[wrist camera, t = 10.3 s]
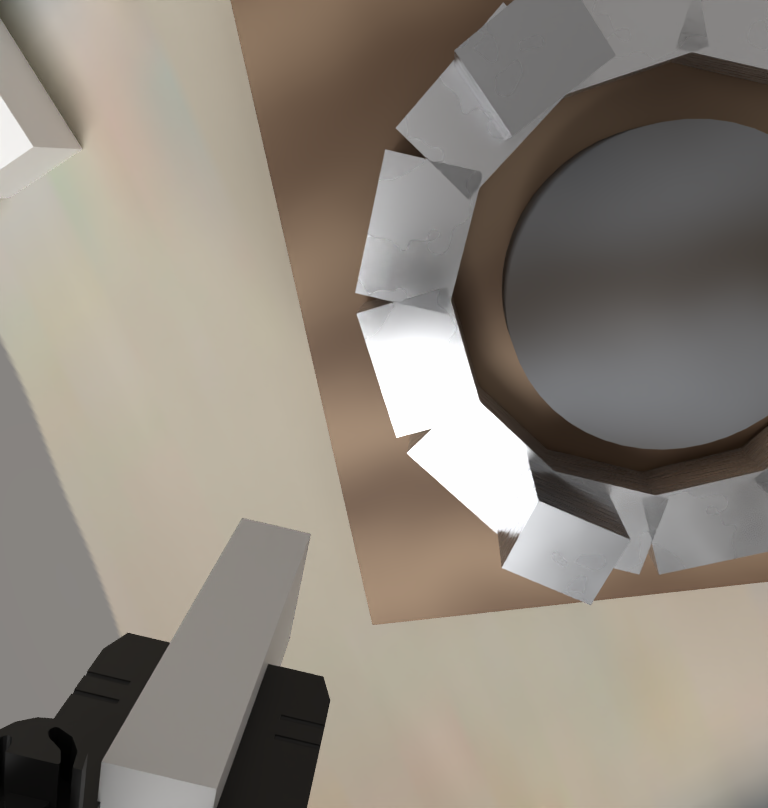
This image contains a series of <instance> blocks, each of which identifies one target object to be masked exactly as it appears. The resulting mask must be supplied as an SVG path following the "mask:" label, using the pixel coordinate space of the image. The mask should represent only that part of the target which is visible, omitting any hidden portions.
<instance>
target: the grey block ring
mask: <svg viewBox="0 0 768 808" xmlns="http://www.w3.org/2000/svg"><path fill="white" fill-rule="evenodd" d="M670 62H672V63H676V64H680V65H685V66H689V67H693V68H698V69H702V70H706V71H711V72H715V73H719V74H724V75H728V76H732V77H737V78H741V79H745V80H750V81H754V82H758V83H763V84H767V85H768V0H514V1H513V2H511V3H510V4H509V5H508V6H506V5H505V4H504V2H503V3H502V4H501V5H500V7H499V8H498V9H497V10H496V11H495V12H494V14H493V15H492V16H491V17H490V18H489V19H488V21H487V22H486V23H485V24H484V25H483V27H481V28H480V29H479V30H478V31H477V32H476V33H474V34H473V35H472V36H471V37H470V38H468V39H467V40H466V41H465V42H464V43H462V44H461V45H460V46H459V47H458V48H456V49H455V50H454V60H453V62H452V63H451V64H450V65H449V66H448V67H447V69H446V70H445V71H444V72H443V73H442V74H441V76H440V77H439V78H438V79H437V80H436V81H435V83H434V84H433V85H432V86H431V87H430V88H429V90H428V91H427V92H426V93H425V94H424V95H423V97H422V98H421V99H420V100H419V101H418V102H417V104H416V105H415V106H414V107H413V108H412V109H411V111H410V112H409V113H408V114H407V115H406V116H405V118H404V119H403V120H402V121H401V122H400V124H399V125H398V126H397V127H396V129H397V130H398V131H399V132H400V133H401V134H402V135H403V136H404V137H405V138H406V139H407V140H408V141H409V142H410V143H411V144H412V145H413V146H414V147H415V148H416V149H418V150H419V151H420V152H421V153H422V154H423V155H424V156H425V157H426V158H427V159H424V158H420V157H416V156H412V155H407V154H403V153H399V152H395V151H390V150H386V149H385V153H384V158H383V162H382V167H381V172H380V177H379V181H378V186H377V191H376V196H375V201H374V205H373V210H372V215H371V220H370V225H369V229H368V234H367V239H366V244H365V248H364V253H363V258H362V263H361V268H360V272H359V277H358V282H357V287H356V291H355V293H358V294H362V295H366V296H371V297H375V298H377V299H374V300H371V301H367V302H364V303H363V304H362V306H361V307H360V309H359V310H358V312H357V313H356V314H357V317H358V320H359V323H360V326H361V329H362V332H363V335H364V339H365V342H366V345H367V348H368V351H369V354H370V357H371V360H372V363H373V366H374V369H375V372H376V375H377V378H378V381H379V385H380V388H381V391H382V394H383V397H384V400H385V403H386V406H387V409H388V412H389V415H390V418H391V421H392V424H393V428H394V431H395V434H396V437H400V436H404V435H408V434H410V439H409V445H408V451H407V454H409V455H410V456H411V457H412V458H413V459H414V460H415V461H416V462H417V463H419V464H420V465H421V466H422V467H423V468H424V469H425V470H426V471H427V472H429V473H430V474H431V475H432V476H433V477H434V478H435V479H436V480H438V481H439V482H440V483H441V484H442V485H443V486H444V487H445V488H446V489H448V490H449V491H450V492H451V493H452V494H453V495H454V496H455V497H457V498H458V499H459V500H460V501H461V502H462V503H463V504H464V505H465V506H467V507H468V508H469V509H470V510H471V511H472V512H473V513H474V514H475V515H477V516H478V517H479V518H480V519H481V520H482V521H483V522H484V523H486V524H487V525H488V526H489V527H490V528H491V529H492V530H493V531H494V532H496V533H497V534H498V541H499V549H500V557H501V566H502V568H503V569H505V570H508V571H510V572H513V573H515V574H517V575H520V576H522V577H525V578H527V579H529V580H532V581H534V582H537V583H539V584H541V585H544V586H546V587H549V588H551V589H553V590H556V591H558V592H561V593H563V594H565V595H568V596H570V597H572V598H575V599H577V600H580V601H582V602H584V603H587V604H589V605H591V604H592V602H593V600H594V599H595V597H596V596H597V594H598V592H599V591H600V589H601V587H602V586H603V584H604V582H605V581H606V579H607V578H608V576H609V574H610V573H611V571H612V569H613V568H615V569H619V570H623V571H627V572H631V573H635V574H640V571H641V569H642V566H643V564H644V561H645V559H646V556H647V554H649V556H650V558H651V560H652V562H653V564H654V566H655V568H656V570H657V572H658V574H659V575H660V574H665V573H670V572H674V571H679V570H684V569H689V568H693V567H698V566H703V565H707V564H712V563H717V562H722V561H726V560H731V559H736V558H741V557H745V556H750V555H755V554H759V553H764V552H768V426H767V427H766V428H765V429H764V430H762V431H761V432H760V433H759V434H757V435H756V436H755V437H754V438H752V439H751V440H750V441H749V442H747V443H746V444H745V445H744V446H743V447H741V448H738V449H734V450H729V451H725V452H721V453H717V454H713V455H708V456H704V457H700V458H696V459H692V460H687V461H683V462H679V463H675V464H671V465H666V466H662V467H658V468H654V469H650V470H645V471H641V472H640V471H636V470H632V469H628V468H624V467H620V466H615V465H611V464H607V463H603V462H599V461H595V460H591V459H586V458H582V457H578V456H574V455H570V454H566V453H562V452H557V451H553V450H549V449H546V448H545V447H544V446H543V445H542V444H541V443H540V442H539V441H538V440H537V439H535V438H534V437H533V436H532V435H531V434H530V433H529V432H528V431H527V430H526V429H525V428H524V427H523V426H522V425H520V424H519V423H518V422H517V421H516V420H515V419H514V418H513V417H512V416H511V415H510V414H509V413H508V412H507V411H505V410H504V409H503V408H502V407H501V406H500V405H499V404H498V403H497V402H496V401H495V400H494V399H493V398H492V397H491V396H489V395H488V394H487V393H486V392H485V391H484V390H483V389H482V388H481V387H480V386H479V385H478V384H477V380H476V377H475V373H474V370H473V366H472V363H471V359H470V356H469V352H468V349H467V345H466V342H465V338H464V335H463V331H462V328H461V324H460V321H459V317H458V314H457V310H456V307H455V303H454V300H453V296H452V294H453V290H454V286H455V282H456V278H457V274H458V270H459V266H460V262H461V258H462V254H463V250H464V246H465V243H466V239H467V235H468V231H469V227H470V223H471V219H472V215H473V211H474V207H475V203H476V199H477V195H478V191H479V188H480V187H481V186H482V185H483V184H484V183H485V181H486V180H487V179H488V178H489V177H490V176H491V175H492V174H493V173H494V172H495V171H496V170H497V168H498V167H499V166H500V165H501V164H502V163H503V162H504V161H505V160H506V159H507V158H508V157H509V156H510V154H511V153H512V152H513V151H514V150H515V149H516V148H517V147H518V146H519V145H520V144H521V143H522V142H523V140H524V139H525V138H526V137H527V136H528V135H529V134H530V133H531V132H532V131H533V130H534V129H535V127H536V126H537V125H538V124H539V123H540V122H541V121H542V120H543V119H544V118H545V117H546V116H547V115H548V113H549V112H550V111H551V110H552V109H553V108H554V107H555V106H556V105H557V104H558V103H559V102H560V100H561V99H563V98H566V97H569V96H572V95H575V94H578V93H581V92H584V91H587V90H590V89H593V88H596V87H599V86H602V85H605V84H608V83H611V82H614V81H617V80H620V79H623V78H626V77H629V76H632V75H635V74H638V73H640V72H643V71H646V70H649V69H652V68H655V67H658V66H661V65H664V64H667V63H670Z"/></svg>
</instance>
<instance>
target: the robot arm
mask: <svg viewBox="0 0 768 808" xmlns="http://www.w3.org/2000/svg"><path fill="white" fill-rule="evenodd" d="M310 535H311V534H310V533H305V532H301V531H297V530H292V529H288V528H284V527H279V526H275V525H271V524H267V523H262V522H258V521H254V520H249V519H245V518H242V519H241V521H240V523H239V524H238V526H237V528H236V530H235V531H234V533H233V535H232V537H231V538H230V540H229V542H228V544H227V545H226V547H225V549H224V550H223V552H222V554H221V556H220V557H219V559H218V561H217V563H216V564H215V566H214V568H213V569H212V571H211V573H210V575H209V576H208V578H207V580H206V582H205V583H204V585H203V587H202V589H201V590H200V592H199V594H198V595H197V597H196V599H195V601H194V602H193V604H192V606H191V608H190V609H189V611H188V613H187V615H186V616H185V618H184V620H183V621H182V623H181V625H180V627H179V628H178V630H177V632H176V634H175V635H174V637H173V639H172V640H171V642H170V643H169V642H165V641H161V640H156V639H152V638H148V637H144V636H139V635H135V634H131V633H127V634H125V635H124V636H122V637H121V638H119V639H118V640H116V641H115V642H113V643H112V644H110V645H108V646H107V647H105V648H104V649H103V650H102V651H101V653H100V654H99V656H98V657H97V658H96V660H95V661H94V663H93V664H92V666H91V667H90V668H89V670H88V671H87V674H86V676H84V677H83V678H82V680H81V681H80V682H79V684H78V685H77V687H76V688H75V690H74V693H73V694H71V695H70V696H69V698H68V699H67V701H66V702H65V703H64V705H63V706H62V708H61V709H60V711H59V712H58V713H57V715H56V716H55V718H54V719H52V718H39V717H37V718H32V719H27V720H22V721H17V722H14V723H12V724H10V725H8V726H6V727H4V728H2V729H0V808H307V804H308V800H309V795H310V791H311V786H312V782H313V777H314V772H315V768H316V763H317V759H318V754H319V749H320V745H321V740H322V736H323V731H324V727H325V722H326V717H327V713H328V708H329V704H330V698H329V695H328V691H327V688H326V684H325V681H324V677H323V676H318V675H314V674H310V673H305V672H301V671H297V670H293V669H288V668H284V667H280V666H281V663H282V660H283V657H284V654H285V651H286V648H287V645H288V642H289V638H290V634H291V629H292V624H293V619H294V614H295V609H296V604H297V599H298V594H299V589H300V584H301V580H302V575H303V570H304V565H305V560H306V555H307V550H308V545H309V540H310Z"/></svg>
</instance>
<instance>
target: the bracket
mask: <svg viewBox="0 0 768 808" xmlns="http://www.w3.org/2000/svg"><path fill="white" fill-rule="evenodd" d="M81 150H82V147H81V146H80V144H79V143H78V141H77V139H76V138H75V136H74V135H73V133H72V131H71V130H70V128H69V127H68V125H67V123H66V122H65V120H64V119H63V117H62V115H61V114H60V112H59V111H58V109H57V108H56V106H55V104H54V103H53V101H52V100H51V98H50V96H49V95H48V93H47V92H46V90H45V88H44V87H43V85H42V84H41V82H40V81H39V79H38V77H37V76H36V74H35V73H34V71H33V69H32V68H31V66H30V65H29V63H28V61H27V60H26V58H25V57H24V55H23V53H22V52H21V50H20V49H19V47H18V46H17V44H16V42H15V41H14V39H13V38H12V36H11V34H10V33H9V31H8V30H7V28H6V26H5V25H4V23H3V22H2V20H1V19H0V198H11V197H12V196H14V195H15V194H17V193H18V192H20V191H21V190H23V189H24V188H26V187H27V186H29V185H30V184H32V183H33V182H35V181H36V180H38V179H39V178H41V177H42V176H44V175H45V174H47V173H48V172H50V171H51V170H53V169H54V168H56V167H57V166H59V165H60V164H62V163H63V162H65V161H66V160H67V159H69V158H70V157H72V156H73V155H75V154H76V153H78V152H79V151H81Z"/></svg>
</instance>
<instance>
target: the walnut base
mask: <svg viewBox="0 0 768 808" xmlns="http://www.w3.org/2000/svg"><path fill="white" fill-rule="evenodd" d="M513 1H514V0H231V4H232V9H233V13H234V18H235V22H236V26H237V31H238V35H239V40H240V44H241V48H242V53H243V57H244V62H245V66H246V70H247V75H248V79H249V84H250V88H251V92H252V97H253V101H254V106H255V110H256V114H257V119H258V123H259V127H260V132H261V136H262V141H263V145H264V149H265V154H266V158H267V163H268V167H269V171H270V176H271V180H272V185H273V189H274V193H275V198H276V202H277V207H278V211H279V215H280V220H281V224H282V229H283V233H284V237H285V242H286V246H287V251H288V255H289V259H290V264H291V268H292V273H293V277H294V281H295V286H296V290H297V295H298V299H299V303H300V308H301V312H302V317H303V321H304V325H305V330H306V334H307V339H308V343H309V347H310V352H311V356H312V361H313V365H314V369H315V374H316V378H317V383H318V387H319V391H320V396H321V400H322V405H323V409H324V413H325V418H326V422H327V427H328V431H329V435H330V440H331V444H332V449H333V453H334V457H335V462H336V466H337V471H338V475H339V479H340V484H341V488H342V493H343V497H344V501H345V506H346V510H347V515H348V519H349V523H350V528H351V532H352V537H353V541H354V545H355V550H356V554H357V559H358V563H359V567H360V572H361V576H362V581H363V585H364V589H365V594H366V598H367V602H368V607H369V611H370V616H371V620H372V624H373V625H377V624H386V623H395V622H404V621H413V620H422V619H431V618H440V617H450V616H459V615H468V614H477V613H486V612H495V611H504V610H513V609H523V608H532V607H541V606H550V605H559V604H568V603H577V602H582V601H580V600H577V599H575V598H572V597H570V596H568V595H565V594H563V593H561V592H558V591H556V590H553V589H551V588H549V587H546V586H544V585H541V584H539V583H537V582H534V581H532V580H529V579H527V578H525V577H522V576H520V575H517V574H515V573H513V572H510V571H508V570H505V569H503V568H502V566H501V557H500V549H499V541H498V534H497V533H496V532H494V531H493V530H492V529H491V528H490V527H489V526H488V525H487V524H486V523H484V522H483V521H482V520H481V519H480V518H479V517H478V516H477V515H475V514H474V513H473V512H472V511H471V510H470V509H469V508H468V507H467V506H465V505H464V504H463V503H462V502H461V501H460V500H459V499H458V498H457V497H455V496H454V495H453V494H452V493H451V492H450V491H449V490H448V489H446V488H445V487H444V486H443V485H442V484H441V483H440V482H439V481H438V480H436V479H435V478H434V477H433V476H432V475H431V474H430V473H429V472H427V471H426V470H425V469H424V468H423V467H422V466H421V465H420V464H419V463H417V462H416V461H415V460H414V459H413V458H412V457H411V456H410V455H409V454H407V451H408V445H409V439H410V434H408V435H404V436H400V437H396V434H395V431H394V428H393V424H392V421H391V418H390V415H389V412H388V409H387V406H386V403H385V400H384V397H383V394H382V391H381V388H380V385H379V381H378V378H377V375H376V372H375V369H374V366H373V363H372V360H371V357H370V354H369V351H368V348H367V345H366V342H365V339H364V335H363V332H362V329H361V326H360V323H359V320H358V317H357V314H356V313H357V312H358V310H359V309H360V307H361V306H362V304H363V303H364V302H367V301H371V300H374V299H377V298H375V297H371V296H366V295H362V294H358V293H355V291H356V287H357V282H358V277H359V272H360V268H361V263H362V258H363V253H364V248H365V244H366V239H367V234H368V229H369V225H370V220H371V215H372V210H373V205H374V201H375V196H376V191H377V186H378V181H379V177H380V172H381V167H382V162H383V158H384V153H385V149H386V150H390V151H395V152H399V153H403V154H407V155H412V156H416V157H420V158H424V159H427V158H426V157H425V156H424V155H423V154H422V153H421V152H420V151H419V150H418V149H416V148H415V147H414V146H413V145H412V144H411V143H410V142H409V141H408V140H407V139H406V138H405V137H404V136H403V135H402V134H401V133H400V132H399V131H398V130H397V129H396V127H397V126H398V125H399V124H400V122H401V121H402V120H403V119H404V118H405V116H406V115H407V114H408V113H409V112H410V111H411V109H412V108H413V107H414V106H415V105H416V104H417V102H418V101H419V100H420V99H421V98H422V97H423V95H424V94H425V93H426V92H427V91H428V90H429V88H430V87H431V86H432V85H433V84H434V83H435V81H436V80H437V79H438V78H439V77H440V76H441V74H442V73H443V72H444V71H445V70H446V69H447V67H448V66H449V65H450V64H451V63H452V62H453V60H454V50H455V49H456V48H458V47H459V46H460V45H461V44H462V43H464V42H465V41H466V40H467V39H468V38H470V37H471V36H472V35H473V34H474V33H476V32H477V31H478V30H479V29H480V28H481V27H483V25H484V24H485V23H486V22H487V21H488V19H489V18H490V17H491V16H492V15H493V14H494V12H495V11H496V10H497V9H498V8H499V7H500V5H501V4H502V3H503V2H504V4H505V5H506V6H508V5H509V4H510V3H511V2H513ZM452 296H453V300H454V303H455V307H456V310H457V314H458V317H459V321H460V324H461V328H462V331H463V335H464V338H465V342H466V345H467V349H468V352H469V356H470V359H471V363H472V366H473V370H474V373H475V377H476V380H477V384H478V385H479V386H480V387H481V388H482V389H483V390H484V391H485V392H486V393H487V394H488V395H489V396H491V397H492V398H493V399H494V400H495V401H496V402H497V403H498V404H499V405H500V406H501V407H502V408H503V409H504V410H505V411H507V412H508V413H509V414H510V415H511V416H512V417H513V418H514V419H515V420H516V421H517V422H518V423H519V424H520V425H522V426H523V427H524V428H525V429H526V430H527V431H528V432H529V433H530V434H531V435H532V436H533V437H534V438H535V439H537V440H538V441H539V442H540V443H541V444H542V445H543V446H544V447H545V448H546V449H549V450H553V451H557V452H562V453H566V454H570V455H574V456H578V457H582V458H586V459H591V460H595V461H599V462H603V463H607V464H611V465H615V466H620V467H624V468H628V469H632V470H636V471H640V472H641V471H645V470H650V469H654V468H658V467H662V466H666V465H671V464H675V463H679V462H683V461H687V460H692V459H696V458H700V457H704V456H708V455H713V454H717V453H721V452H725V451H729V450H734V449H738V448H741V447H743V446H744V445H745V444H746V443H747V442H749V441H750V440H751V439H752V438H754V437H755V436H756V435H757V434H759V433H760V432H761V431H762V430H764V429H765V428H766V427H767V426H768V85H767V84H763V83H758V82H754V81H750V80H745V79H741V78H737V77H732V76H728V75H724V74H719V73H715V72H711V71H706V70H702V69H698V68H693V67H689V66H685V65H680V64H676V63H672V62H670V63H667V64H664V65H661V66H658V67H655V68H652V69H649V70H646V71H643V72H640V73H638V74H635V75H632V76H629V77H626V78H623V79H620V80H617V81H614V82H611V83H608V84H605V85H602V86H599V87H596V88H593V89H590V90H587V91H584V92H581V93H578V94H575V95H572V96H569V97H566V98H563V99H561V100H560V102H559V103H558V104H557V105H556V106H555V107H554V108H553V109H552V110H551V111H550V112H549V113H548V115H547V116H546V117H545V118H544V119H543V120H542V121H541V122H540V123H539V124H538V125H537V126H536V127H535V129H534V130H533V131H532V132H531V133H530V134H529V135H528V136H527V137H526V138H525V139H524V140H523V142H522V143H521V144H520V145H519V146H518V147H517V148H516V149H515V150H514V151H513V152H512V153H511V154H510V156H509V157H508V158H507V159H506V160H505V161H504V162H503V163H502V164H501V165H500V166H499V167H498V168H497V170H496V171H495V172H494V173H493V174H492V175H491V176H490V177H489V178H488V179H487V180H486V181H485V183H484V184H483V185H482V186H481V187H480V188H479V191H478V195H477V199H476V203H475V207H474V211H473V215H472V219H471V223H470V227H469V231H468V235H467V239H466V243H465V246H464V250H463V254H462V258H461V262H460V266H459V270H458V274H457V278H456V282H455V286H454V290H453V294H452ZM760 582H768V552H764V553H759V554H755V555H750V556H745V557H741V558H736V559H731V560H726V561H722V562H717V563H712V564H707V565H703V566H698V567H693V568H689V569H684V570H679V571H674V572H670V573H665V574H660V575H659V574H658V572H657V570H656V568H655V566H654V564H653V562H652V560H651V558H650V556H649V554H647V556H646V559H645V561H644V564H643V566H642V569H641V571H640V574H635V573H631V572H627V571H623V570H619V569H615V568H613V569H612V571H611V573H610V574H609V576H608V578H607V579H606V581H605V582H604V584H603V586H602V587H601V589H600V591H599V592H598V594H597V596H596V597H595V599H594V600H593V601H596V600H605V599H614V598H623V597H632V596H641V595H650V594H659V593H669V592H678V591H687V590H696V589H705V588H714V587H723V586H732V585H741V584H751V583H760Z"/></svg>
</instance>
